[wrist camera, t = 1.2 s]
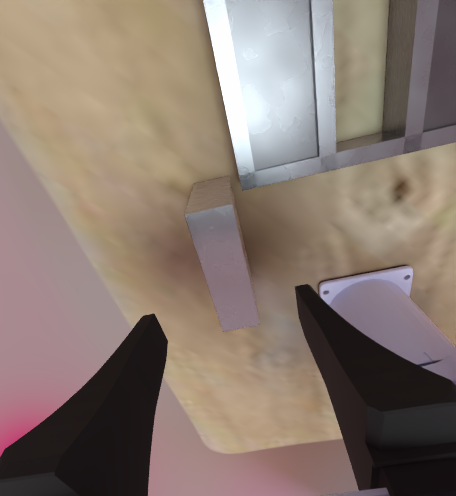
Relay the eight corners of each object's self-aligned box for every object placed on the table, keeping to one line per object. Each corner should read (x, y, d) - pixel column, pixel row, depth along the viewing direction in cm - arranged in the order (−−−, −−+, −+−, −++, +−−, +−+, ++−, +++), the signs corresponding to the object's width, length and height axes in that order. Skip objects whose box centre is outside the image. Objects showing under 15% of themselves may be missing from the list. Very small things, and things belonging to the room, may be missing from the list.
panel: (251, 274, 24) (259, 325, 18) (222, 280, 24) (223, 331, 19) (228, 175, 19) (231, 204, 14) (194, 183, 19) (184, 214, 14)
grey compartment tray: (473, 125, 18) (515, 130, 15) (239, 180, 19) (242, 192, 17) (541, -198, 12) (631, -280, 9) (186, -82, 13) (177, -125, 10)
